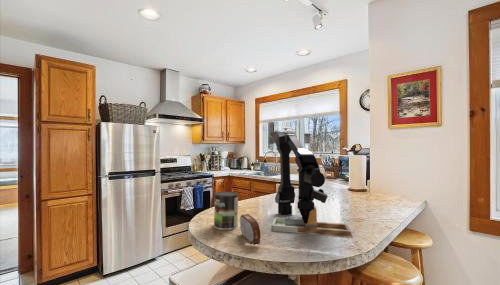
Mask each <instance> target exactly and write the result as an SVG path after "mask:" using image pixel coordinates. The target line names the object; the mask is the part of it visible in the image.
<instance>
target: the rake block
mask: <svg viewBox="0 0 500 285" xmlns="http://www.w3.org/2000/svg"><path fill="white" fill-rule="evenodd" d="M317 211H318V210H317V206H316V205H314V210H311V211H310V213H309V218H308V222H307V224H305V227H314V228H317V222H318V220H317V219H318V218H317V217H318V216H317V215H318V214H317Z"/></svg>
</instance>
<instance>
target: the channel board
mask: <svg viewBox="0 0 500 285" xmlns="http://www.w3.org/2000/svg"><path fill="white" fill-rule="evenodd" d="M297 227H298V233H297V234H305V235H317V236H328V237H329V236H330V237H343V238H352V231H351V228H350V227H349V224H348V223H339V222H338V223H337V222H323V221H317V228H314V227H302V226H297Z"/></svg>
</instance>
